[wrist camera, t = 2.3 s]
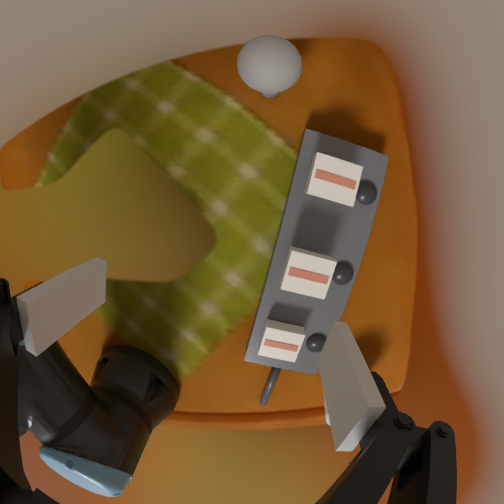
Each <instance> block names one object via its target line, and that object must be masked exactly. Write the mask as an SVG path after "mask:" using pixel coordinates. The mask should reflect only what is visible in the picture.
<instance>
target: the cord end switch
mask: <svg viewBox="0 0 504 504" xmlns="http://www.w3.org/2000/svg"><path fill="white" fill-rule="evenodd" d="M304 338H305V331H304V327H301V326H296V325H292V324H287V323H283V322H278V321H274V320H269V319H267V320H266V323H265V326H264V330H263V333H262V336H261V339H260V343H259V346H258V355H261V356H265V357H270V358H275V359H280V360H285V361H290V362H295V361H296V358H297V356H298V353H299V351H300V348H301V346H302V343H303V341H304Z"/></svg>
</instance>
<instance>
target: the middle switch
mask: <svg viewBox="0 0 504 504" xmlns="http://www.w3.org/2000/svg"><path fill="white" fill-rule="evenodd" d="M336 264H337V262H336V260H335V259H334V258H333V257H331V256H327V255H323V254H319V253H315V252H312V251H308V250H304V249H300V248H296V247H292V246H290V248H289V252H288V256H287V259H286V263H285V266H284V270H283V273H282V277H281V280H280V289H281V290H286V291H290V292H294V293H298V294H303V295H307V296H311V297H315V298H320V299H325V296H326V294H327V291H328V288H329V285H330V282H331V279H332V276H333V273H334V270H335V267H336Z"/></svg>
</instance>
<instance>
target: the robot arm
mask: <svg viewBox="0 0 504 504" xmlns="http://www.w3.org/2000/svg"><path fill="white" fill-rule="evenodd" d="M106 270H107V260H106V259H103V258H100V257H95V258H93V259H91V260H89V261H86V262H84V263H82V264H80V265H78V266H76V267H74V268H72V269H70V270H68V271H66V272H63V273H61V274H59V275H57V276H55V277H53V278H51V279H49V280H47V281H45V282H41V283H38V284H36V285H34V286H33V287H31V288H29V289H28V290H25V291H23V292H21V293H19V294H17V295H15V296H13V297H12V298H11V296H10V289H9V282H8V281H7V280H6V279H3V278H0V504H59V503H58V502H56V501H55V500H53V499H52V498H50V497H49V496H47V495H46V494H45V493H43V492H42V491H40V490H39V489H38V488H36V490H35V491H34V492H33V491H32V489H31V486H30V484H29V482H28V480H27V478H26V476H25V473H24V470H23V465H22V458H21V450H20V441H19V437H21V436H22V435H24V434H25V433H26V432H27V431H30V432H31V433H32V434H33V435H34V436H35V437H36V438H37V439H38V440H39V441H40V442H41V444H42V446H41V447H40V448H39V449H40V450H39V456H40V457H41V459H43V460H44V462H45V463H46V464H47V465H48V466H49V467H50V468H52V469H53V470H54V471H56V472H57V473H58V474H60V475H61V476H63V477H64V478H66V479H68V480H70V481H71V482H73V483H74V484H77V485H78V486H80V487H82V488H84V489H87V490H89V491H92V492H94V493H97V494H100V495H103V496H108V497H116V496H119V495H121V494H122V493H123V492H124V490H125V488H126V486H127V485H128V483H129V481H130V480H132V478H133V473H134V471H135V469H136V466H137V464H138V462H139V459H140V457H141V455H142V453H143V450H144V448H145V446H146V444H147V441H148V439H149V437H150V435H151V433H152V431H153V429H154V428H155V427H157V426H158V425H159V424H160V423H161V422H162V421H163V420H164V419H166V418H167V417H168V416H169V415H170V414H171V413H172V412H173V410H174V408H175V406H176V404H177V401H178V398H179V391H178V387H177V384H176V382H175V380H174V378H173V376H172V375H171V374H170V372H169V371H168V370H167V369H166V368H165V367H164V366H163V365H162V364H161V363H160V362H159V361H157V360H156V359H155V358H153V357H152V356H150V355H148V354H147V353H145V352H143V351H141V350H138V349H135V348H132V347H126V346H117V347H113V348H110V349H108V350H107V351H106V352H105V353H104V354H103V355H102V356H101V357H100V359H99V360H98V362H97V364H96V367H95V370H94V374H93V377H92V381H91V384H90V386H89V385H88V384H87V382H86V381H85V380H84V378H83V377H82V376H81V374H80V373H79V372H78V370H77V369H76V368H75V366H74V365H73V363H72V362H71V361H70V359H69V358H68V356H67V355H66V353H65V352H64V350H63V349H62V347H61V346H60V344H59V343H58V341H57V340H58V339H59V338H60V337H61V336H63V335H64V334H65V333H66V332H67V331H69V330H70V329H71V328H72V327H74V326H75V325H76V324H78V323H79V322H80V321H81V320H83V319H84V318H85V317H86V316H88V315H89V314H90V313H92V312H93V311H94V310H95V309H97V308H98V307H99V306H101V305H102V304H103V303H105V299H106ZM317 362H318V367H319V371H320V376H321V380H322V385H323V390H324V394H325V399H326V404H327V409H328V414H329V419H330V424H331V429H332V434H333V440H334V444H335V450H336V451H353V449H354V448H355V447H356V446H357V445H358V443H359V444H360V447H361V451H360V452H359V453H358V454H357V455H356V456H355V457H354V458H353V460H351V462H350V463H349V466H348V467H347V468H346V470H345V471H344V472H343V473H342V474H341V476H340V477H339V478H338V479H337V480H336V481H335V483H334V484H333V485H332V486H331V487H330V488H329V490H327V492H326V493H325V494H324V495H323V496H322V497H321V498H320V499H319V500H318V501H317V502H316V503H315V504H377V503H378V502H379V500H380V498H381V497H382V495H383V493H384V492H385V490H386V488H387V487H388V485H389V483H390V481H391V479H392V478H393V476H394V478H393V483H392V487H391V491H390V495H389V499H388V503H387V504H456V493H457V490H456V489H457V466H456V447H455V436H454V435H455V434H454V431H453V429H452V428H451V426H450V425H448V424H447V423H445V422H442V421H435V422H433V423H432V425H431V426H430V427H429V428H428V429H427V428H422V427H418V426H416V425H415V423H414V421H413V419H412V418H411V417H410V416H408V415H407V414H405V413H402V412H398V409H397V407H396V405H395V403H394V401H393V399H392V397H391V395H390V393H389V391H388V388H386V384H385V382H384V380H383V379H382V378H381V377H380V376H379V375H378V374H377V373H376V372H371V371H370V370H369V368H368V366H367V364H366V362H365V360H364V358H363V355H362V353H361V351H360V349H359V347H358V345H357V343H356V341H355V339H354V337H353V335H352V333H351V331H350V329H349V327H348V325H347V323H343V322H338V321H334V322H333V325H332V327H331V330H330V332H329V335H328V337H327V339H326V342H325V344H324V346H323V349H322V351H321V353H320V356H319V358H318V360H317Z"/></svg>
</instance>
